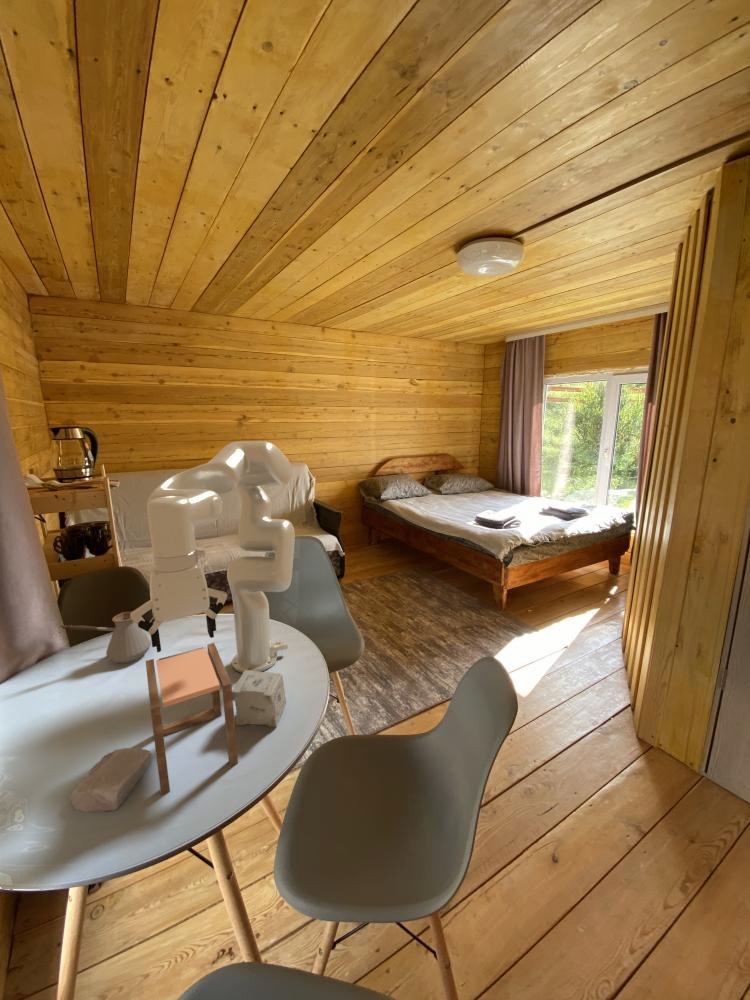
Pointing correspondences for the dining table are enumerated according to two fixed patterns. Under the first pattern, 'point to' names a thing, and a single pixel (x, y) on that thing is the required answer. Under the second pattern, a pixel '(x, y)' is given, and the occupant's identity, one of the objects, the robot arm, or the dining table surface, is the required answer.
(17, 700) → the dining table surface
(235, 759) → the stand
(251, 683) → the white speckled block
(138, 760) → the stone block
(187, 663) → the trapdoor
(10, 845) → the dining table surface
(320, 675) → the dining table surface
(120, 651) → the coffee pot
